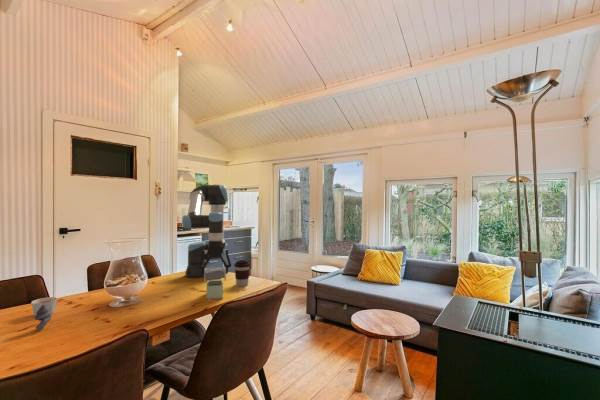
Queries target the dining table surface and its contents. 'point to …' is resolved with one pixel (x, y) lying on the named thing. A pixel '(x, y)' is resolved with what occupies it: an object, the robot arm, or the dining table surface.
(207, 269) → the lid
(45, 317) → the seashell
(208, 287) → the box
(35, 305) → the grey bowl
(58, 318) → the dining table surface
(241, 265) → the coffee cup
